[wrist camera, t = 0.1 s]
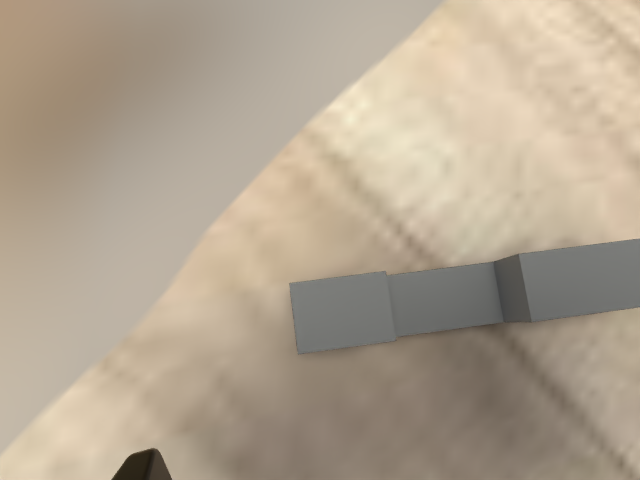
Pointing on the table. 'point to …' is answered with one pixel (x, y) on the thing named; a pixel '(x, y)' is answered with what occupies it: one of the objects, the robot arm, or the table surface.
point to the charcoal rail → (466, 295)
